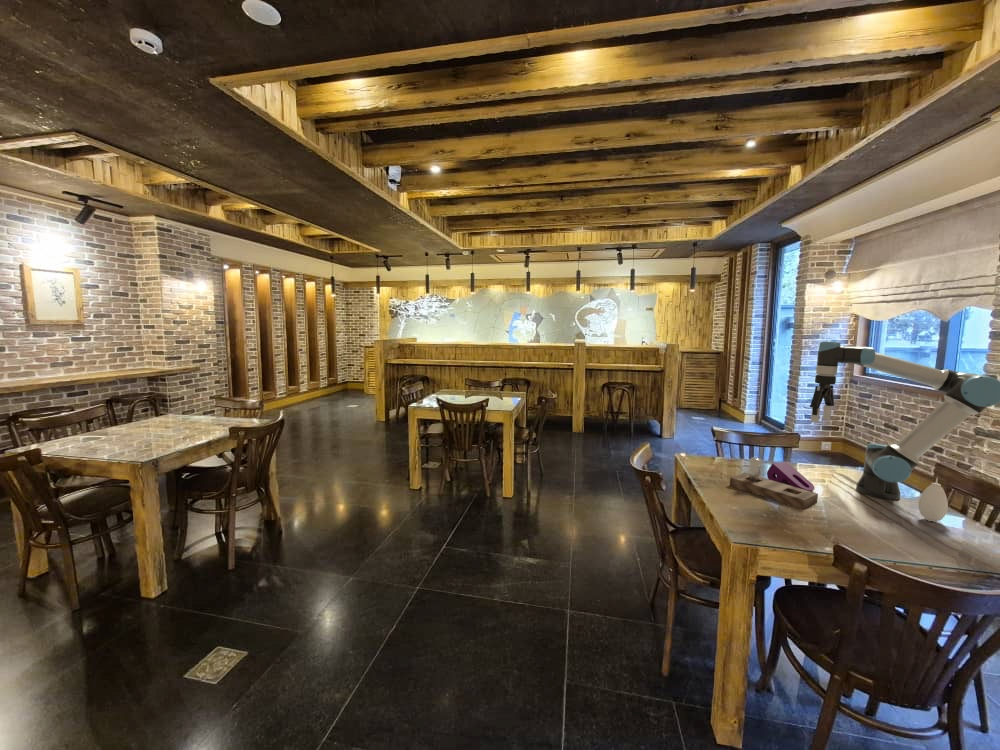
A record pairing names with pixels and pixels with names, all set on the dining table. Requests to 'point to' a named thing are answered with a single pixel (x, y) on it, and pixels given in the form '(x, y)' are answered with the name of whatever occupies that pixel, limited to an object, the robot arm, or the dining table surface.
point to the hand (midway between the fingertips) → (820, 420)
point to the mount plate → (775, 491)
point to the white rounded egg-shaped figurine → (933, 503)
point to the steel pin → (754, 469)
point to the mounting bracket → (788, 476)
